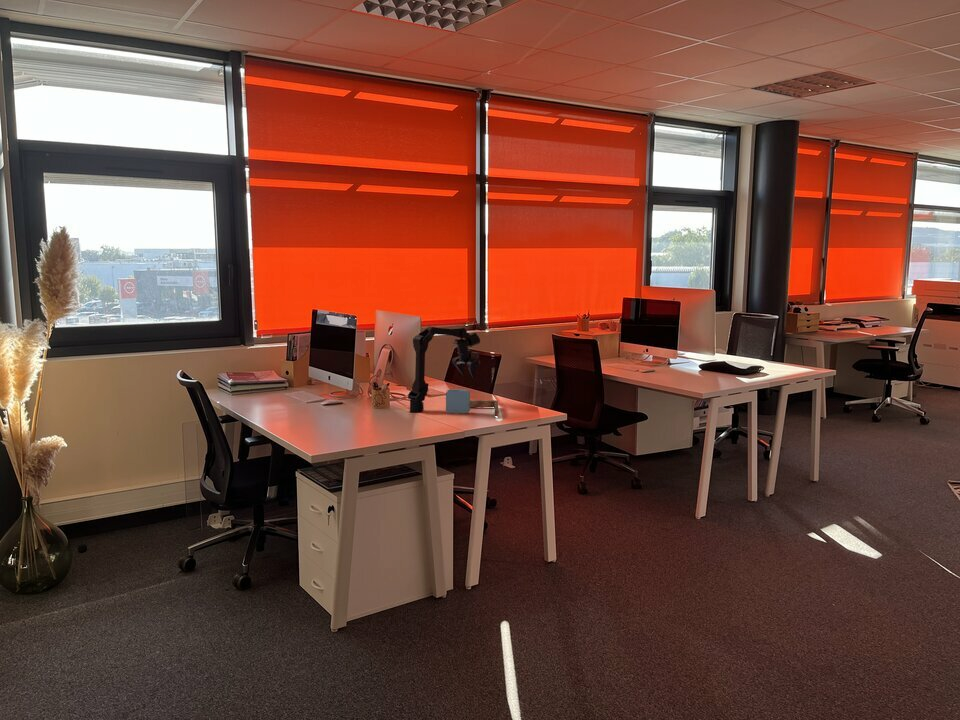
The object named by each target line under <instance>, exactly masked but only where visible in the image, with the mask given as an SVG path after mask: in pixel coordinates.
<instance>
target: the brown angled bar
mask: <svg viewBox="0 0 960 720" xmlns="http://www.w3.org/2000/svg"><path fill="white" fill-rule="evenodd" d="M470 407H494V408H493V409H494V410H493V411H494V412H493V417H494V416H498V417H499V400H494V399H492V400H490V399H489V400H487V399H486V400H485V399H479V400H477V399H470Z"/></svg>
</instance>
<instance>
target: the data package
mask: <svg viewBox="0 0 960 720" xmlns="http://www.w3.org/2000/svg"><path fill="white" fill-rule="evenodd" d="M470 400H471V391H470V390H469V389H454V388H453V389H452V388H451V389H448V390H447V391H446V392H445V412H446V413H447V414H451V413H467V414H469V412H470V410H471V408H470Z"/></svg>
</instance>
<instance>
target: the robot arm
mask: <svg viewBox="0 0 960 720" xmlns="http://www.w3.org/2000/svg"><path fill="white" fill-rule="evenodd" d="M467 331H468V330H467V329H466V328H465V327H460V326H455V327H451V328H450V327H449V328H447V327H438V326H430V325H429V326H428V327H426V328H425V329H424V330H422V331H421V332H419V333H418V334H417V335H415V336H414V337H413V338H412V345H413V349H414V351H415V374H414V375H415V376H414V377H415V379H414V382H413V383H412V386H411V390H410V391H409V393H408V394H407V398H408V400H409V413H423V411H424V410H425V409H424V408H425V407H424V406H425V403H424V401H425V398H426V396H428V392H429V383H427V382H426V381H425V377H426V376H425V374H426V373H425V370H426V366H425V365H426V353H427V350H428V348H429V344H430V342H431V341H432V340H433V339H434V338H433V337H434V336H435V335H440V336H450V337H453V338H454V340H453V342H452V344H453V345H456V347H457V352H456V353H457V355H458V356H455V357H454V358H452V359H451V363H452V365H453V366H455V367H456V369H457V370H458V371H459V373H460V374H461V375H462V376H463V377H464V376H465V375H466V374H465V364H466V365H467V370H468V372H469V373H470V375H471V377H472V379H474V378H475V377H476V370H477V368H478V367H479V366H480V365H481V361H480V360H479V356H480V352H475V351H473V349H472V350H471V349H469V348H472V347H474V346H477V345H479V344H480V343H481V339H480V337H479V335H478V333H477V332H472V333H469V332H467ZM456 338H457V339H456Z"/></svg>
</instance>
